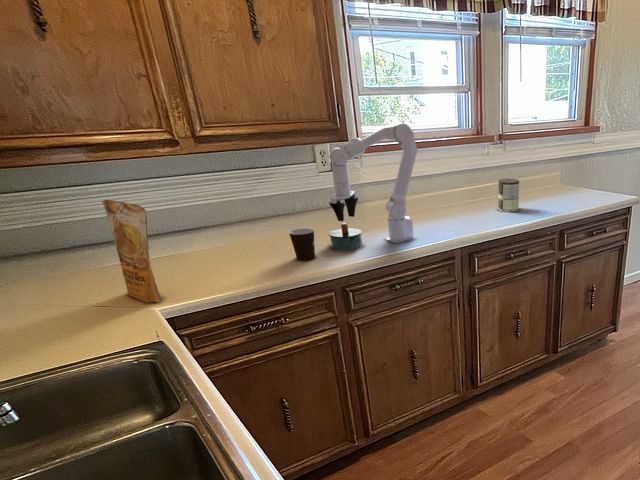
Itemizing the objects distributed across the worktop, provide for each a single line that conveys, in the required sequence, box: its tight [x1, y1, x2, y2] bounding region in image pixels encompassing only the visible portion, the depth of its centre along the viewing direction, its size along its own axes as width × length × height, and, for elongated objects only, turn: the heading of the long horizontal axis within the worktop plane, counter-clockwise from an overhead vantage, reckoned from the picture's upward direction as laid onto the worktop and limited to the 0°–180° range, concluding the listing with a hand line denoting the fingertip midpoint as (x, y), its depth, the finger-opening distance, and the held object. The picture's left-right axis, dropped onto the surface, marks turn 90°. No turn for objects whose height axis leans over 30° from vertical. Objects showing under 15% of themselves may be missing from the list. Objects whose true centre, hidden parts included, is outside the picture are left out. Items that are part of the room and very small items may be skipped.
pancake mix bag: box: [101, 199, 162, 304], centre depth 152 cm, size 7×19×28 cm, turn 56°
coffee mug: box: [288, 227, 316, 262], centre depth 190 cm, size 12×9×10 cm
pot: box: [329, 234, 363, 251], centre depth 202 cm, size 12×17×5 cm
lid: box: [328, 222, 363, 238], centre depth 200 cm, size 13×13×5 cm
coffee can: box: [497, 178, 520, 213], centre depth 257 cm, size 10×10×14 cm
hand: (346, 218), depth 201 cm, fingers open, 7 cm apart
